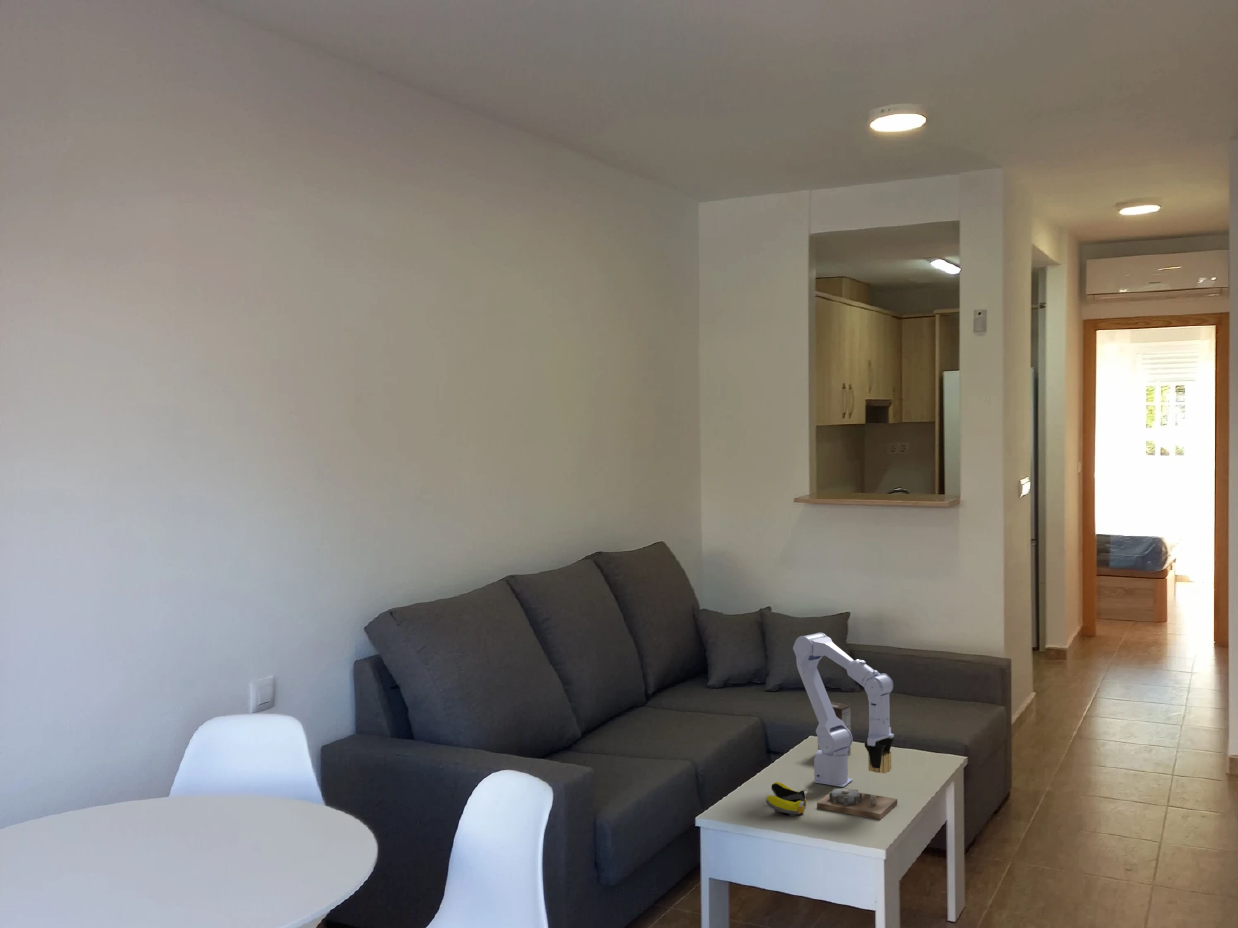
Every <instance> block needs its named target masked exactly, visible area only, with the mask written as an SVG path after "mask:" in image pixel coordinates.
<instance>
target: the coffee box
mask: <svg viewBox="0 0 1238 928" xmlns="http://www.w3.org/2000/svg"><path fill="white" fill-rule="evenodd" d="M830 702H831V705H832V707H833V710H834V712H835V715H836V717H837V718H839V719H840V720H842V721H843V722H844V723H845V726H846V727H847V729H848V730H849V731H850V732H852V727H851V721H852V720H851V718H852V716H851V715H852V713H851V712H852V709H851V707H852V706H851V705H849V704H844V703H839V702H834V701H830ZM818 725H819V722H818V721H817V726H818ZM831 730H832V729H830V731H831ZM851 746H852V745H851ZM851 746H850V747H849V751H848V756H850V755H851V753H852V750H851V749H852V748H851ZM818 750H821V749H820V748H819V746H818V745H817V751H818Z"/></svg>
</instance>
